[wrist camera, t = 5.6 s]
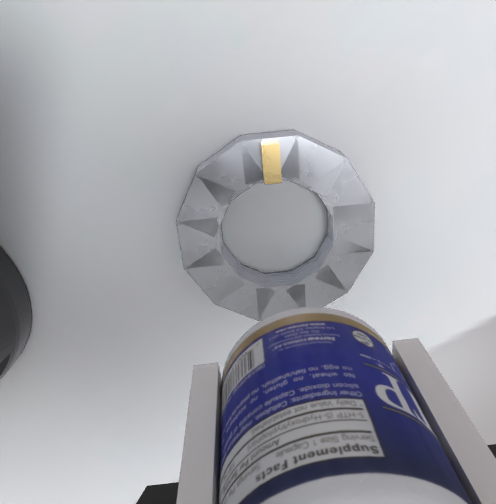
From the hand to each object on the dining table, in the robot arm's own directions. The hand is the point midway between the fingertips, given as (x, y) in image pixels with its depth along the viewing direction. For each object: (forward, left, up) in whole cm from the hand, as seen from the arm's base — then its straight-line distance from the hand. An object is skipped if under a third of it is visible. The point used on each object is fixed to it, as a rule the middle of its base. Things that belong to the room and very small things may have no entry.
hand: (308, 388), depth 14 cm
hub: (0, -1, -16) cm, 16 cm away
